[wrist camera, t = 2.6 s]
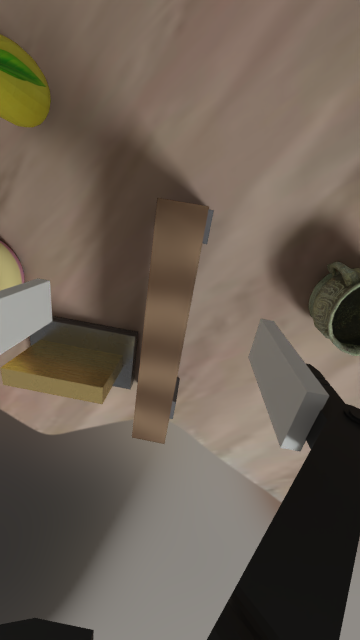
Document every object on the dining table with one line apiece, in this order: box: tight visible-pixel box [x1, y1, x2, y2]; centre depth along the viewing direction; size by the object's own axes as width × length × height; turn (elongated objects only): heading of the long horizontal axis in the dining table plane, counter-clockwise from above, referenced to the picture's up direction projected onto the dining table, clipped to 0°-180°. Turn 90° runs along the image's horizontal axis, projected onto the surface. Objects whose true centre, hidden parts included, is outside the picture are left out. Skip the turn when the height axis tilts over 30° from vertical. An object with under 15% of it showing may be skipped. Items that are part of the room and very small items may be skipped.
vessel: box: [308, 262, 360, 356], centre depth 25 cm, size 12×9×6 cm
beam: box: [132, 198, 209, 444], centre depth 25 cm, size 26×4×4 cm, turn 171°
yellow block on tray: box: [0, 316, 138, 404], centre depth 31 cm, size 9×15×8 cm, turn 81°
